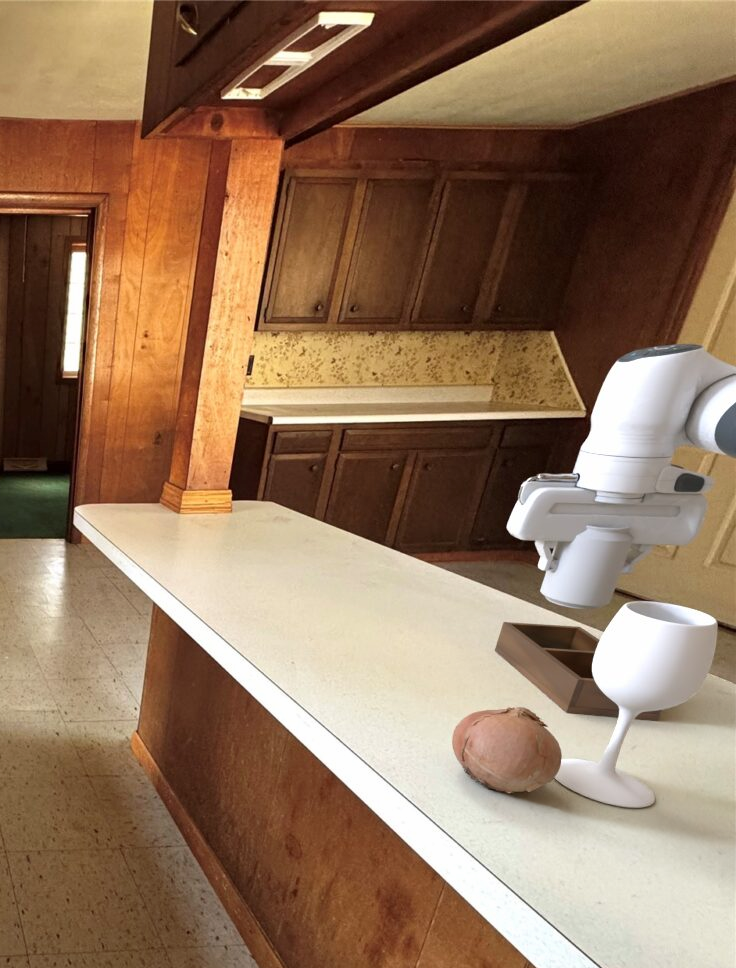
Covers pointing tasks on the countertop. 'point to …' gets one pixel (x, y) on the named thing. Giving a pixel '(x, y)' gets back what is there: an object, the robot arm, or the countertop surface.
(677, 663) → the wineglass
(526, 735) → the onion
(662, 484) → the robot arm
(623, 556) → the can
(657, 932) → the countertop surface
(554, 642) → the wooden compartment tray
